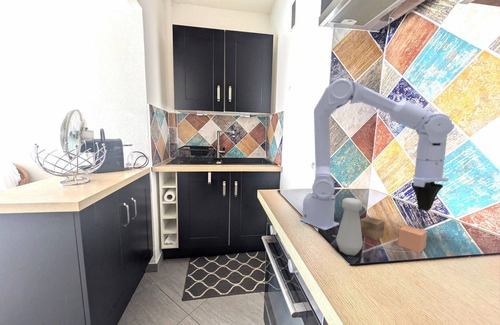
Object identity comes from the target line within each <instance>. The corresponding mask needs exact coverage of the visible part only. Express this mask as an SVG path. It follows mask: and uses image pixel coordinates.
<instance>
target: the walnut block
mask: <svg viewBox="0 0 500 325" xmlns="http://www.w3.org/2000/svg"><path fill="white" fill-rule="evenodd" d="M360 224H361V232H362V237H365V238H369V239H371V240H374V241H378V240H380V239H381V238H383V237H384V230H385V220H381V219H378V218H375V217H371V216H365V217H364V218H360Z"/></svg>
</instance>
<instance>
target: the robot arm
mask: <svg viewBox="0 0 500 325" xmlns="http://www.w3.org/2000/svg"><path fill="white" fill-rule="evenodd" d="M349 101H350V102H349ZM348 102H349V104H350V105H353V104H358V103H362V104H365V105H367V106H370V107H373V108H375V109H377V110H380V111H383V112H385V113H388V114H389V118H390V120H391V121H393V122H395V123H397V124H400V125H402V126H404V127H407V128H409V129H410V130H413V131H415V132H416V133H417V135H418V139H417V140H418V141H417V146H416V147H417V148H416V158H415V167H414V174H413V182H411V188H412V189H413V191H414V194H415V196H416V197H415V198H416V203H417V209H418V210H421V211H425V212H428V211H430V210H431V209H432V207H433V205H434V203H435V199H436V197H437V195H438V194H439V192H440V191H441V189H442V188H443V186H444V184H442V183H439V182H448V181H449V178H448V177H443V174H444V167H445V166H444V165H445V158H446V150H447V149H446V148H447V138H448V135H449V134H450V133H451V132H452V131H453V130H454V128H455V124H454V123H453V121H452V119H451V118H450V116H448V115H447V114H445V113H435V110H434V109H432V108H429V109H428V108H427V109H426V108H424V107H422V106H420V105H418V104H416V101H414V100H412V99H411V100H409V101H408V100H405V99H404V100H401V101H398V102H397V101H395V100H393V99H391V98H389V97H387V96H385V95H383V94H381V93H379V92H376V91H375V90H373V89H371V88H369V87H367V86H365V85H363V84H361V83H359V82H357V81H354V80H353V81H350V80H349V79H348V78H346V77H345V78H343V77H341V78H337V79H335V80H334V81H333V82H331V83H330V84H329V85H328V86H327V87H326V88H325V90H324V91H323V94H322V95H321V96H320V99H319V100H318V102H317V104H316V106H315V107H314V110H313V128H314V158H315V159H314V160H315V174H314V175H315V178H314V180H313V181H314V182H313V183H312V187H311V188H312V193H308V194H306V195H305V196H304V198H303V201H302V215H301V216H302V218H300V221H301V222H303V223H305V224H308V225H310V226H313V227H315V228H318V229H320V230H322V231H326V230H329V229H332V228H335V227H337V226H340V222H337V221H335V209H336V208H335V206H336V196H335V195H334V194H335V181H334V179H333V177H332V175H331V174H332V173H331V171H332V169H331V139H330V138H331V135H330V134H331V130H330V129H331V128H330V117H331V115H332V114H333V113H334V112H335V111H337V109H339V108H341V107H343V106H345V105H346V104H348ZM434 113H435V114H434ZM437 182H438V183H437Z"/></svg>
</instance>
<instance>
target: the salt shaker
mask: <svg viewBox="0 0 500 325" xmlns="http://www.w3.org/2000/svg"><path fill="white" fill-rule="evenodd" d="M341 206H342V208H343V209H344V210H343V214H342V218H341V221H340V223H339V229H338V231H337V235H336V237H335V238H336V239H335V240H336V243H337V246H338V250H339V252H341V253H342V254H344V255H345V256H346V255H347V256H354V257H355V256H357V255H358V254H359V253H360V251H361V249H362V248H363V245H364V241H363V235H362V232H361V224H360V219H361V217H360V211H362V209H363V202H362V201H361V200H360V199H357V198H355V197H346V198H344V199H342V202H341Z"/></svg>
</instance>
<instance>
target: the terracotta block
mask: <svg viewBox="0 0 500 325" xmlns="http://www.w3.org/2000/svg"><path fill="white" fill-rule="evenodd" d="M398 231H399V234H398V241H397V245H398V246H400V247H403V248H405V249H407V250H410V251H413V252H415V253H418V254H420V253H422V251H423V250H425V249H426V247H427V239H428V230H426V229H425V230H424V229H421V228H417V227H414V226H411V225H407V224H405V225H404V226H402V227H401V228H399V230H398Z"/></svg>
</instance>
